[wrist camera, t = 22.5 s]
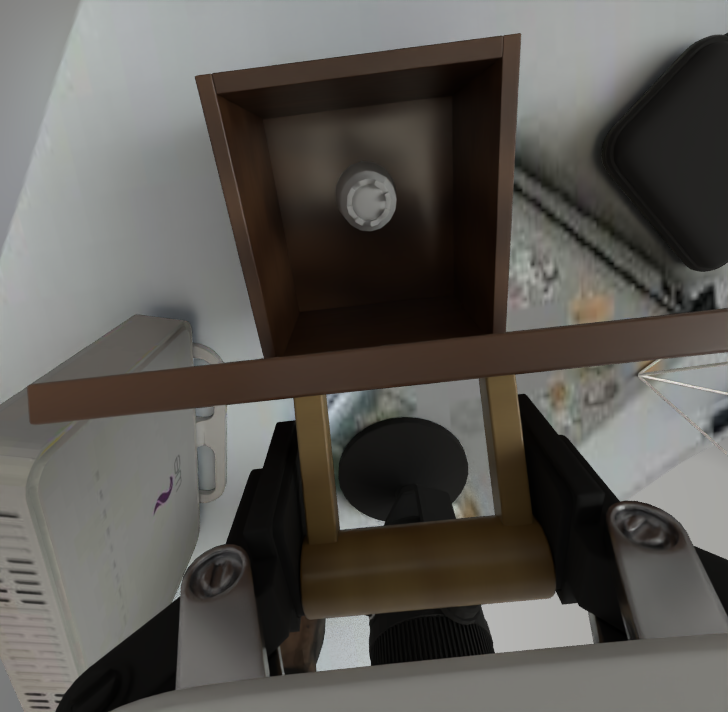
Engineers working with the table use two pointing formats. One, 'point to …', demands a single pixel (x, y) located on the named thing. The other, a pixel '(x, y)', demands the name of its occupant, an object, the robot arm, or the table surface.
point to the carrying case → (680, 154)
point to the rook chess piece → (366, 196)
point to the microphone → (412, 505)
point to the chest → (411, 179)
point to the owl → (303, 647)
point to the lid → (386, 370)
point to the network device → (98, 513)
